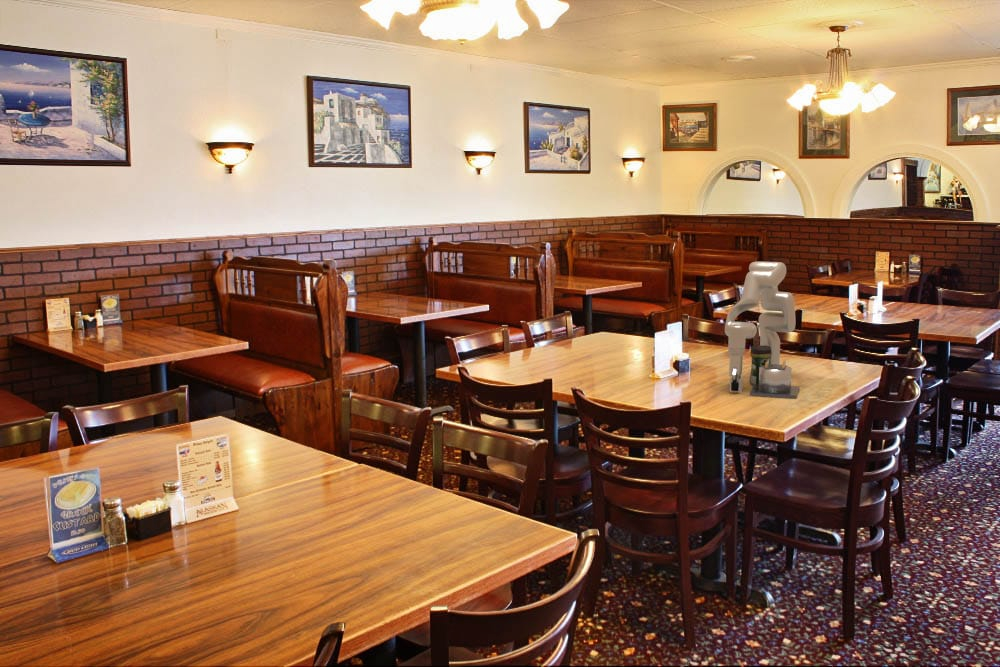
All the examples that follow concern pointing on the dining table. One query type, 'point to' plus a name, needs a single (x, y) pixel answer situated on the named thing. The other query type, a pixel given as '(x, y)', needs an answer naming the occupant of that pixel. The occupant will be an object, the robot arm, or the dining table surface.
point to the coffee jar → (759, 361)
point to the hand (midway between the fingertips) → (735, 388)
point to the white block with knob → (739, 385)
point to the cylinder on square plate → (775, 382)
